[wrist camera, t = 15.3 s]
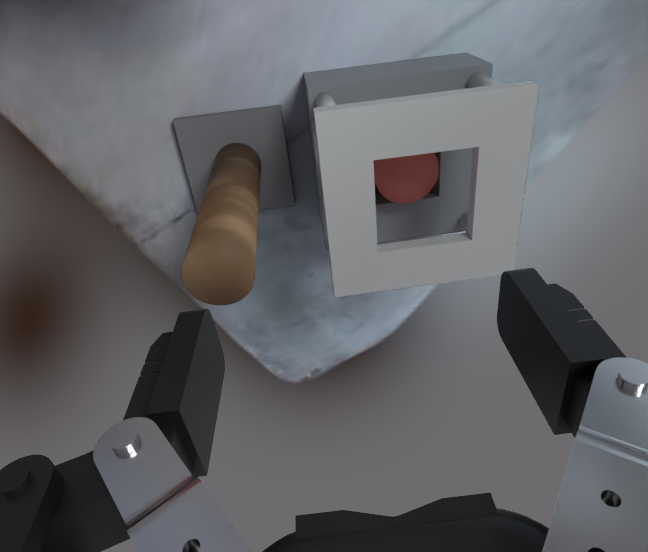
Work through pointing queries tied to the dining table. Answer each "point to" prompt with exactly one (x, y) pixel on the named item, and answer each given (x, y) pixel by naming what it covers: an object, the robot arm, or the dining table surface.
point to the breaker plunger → (406, 177)
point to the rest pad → (238, 127)
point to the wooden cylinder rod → (226, 229)
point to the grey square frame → (413, 139)
